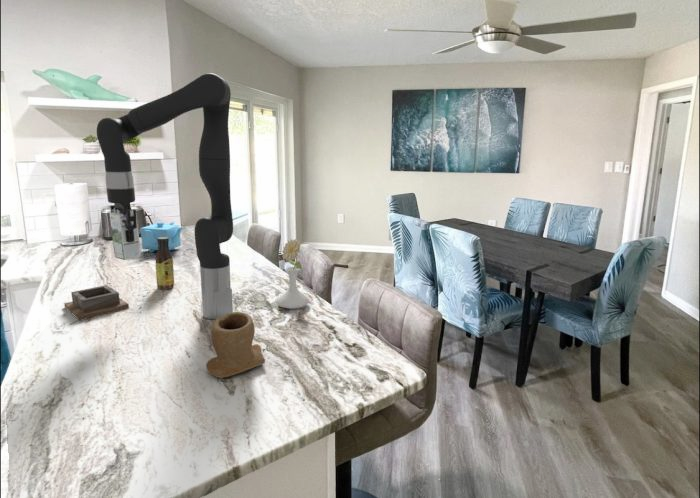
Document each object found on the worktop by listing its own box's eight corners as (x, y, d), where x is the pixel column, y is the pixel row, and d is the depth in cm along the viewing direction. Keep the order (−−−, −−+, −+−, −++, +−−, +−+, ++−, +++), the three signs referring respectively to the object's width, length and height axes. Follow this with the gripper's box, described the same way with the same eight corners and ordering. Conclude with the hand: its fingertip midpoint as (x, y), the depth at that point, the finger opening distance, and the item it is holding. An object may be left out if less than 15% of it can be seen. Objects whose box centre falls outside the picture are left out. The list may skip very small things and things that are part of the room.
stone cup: (219, 388, 102) (216, 330, 99) (201, 367, 111) (198, 313, 108) (276, 369, 111) (275, 315, 108) (255, 351, 120) (254, 301, 117)
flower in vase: (273, 301, 157) (272, 234, 151) (303, 298, 162) (303, 233, 156) (282, 315, 146) (281, 243, 140) (314, 311, 150) (315, 240, 144)
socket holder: (128, 307, 148) (127, 292, 147) (79, 320, 137) (77, 304, 136) (112, 296, 158) (110, 282, 156) (64, 307, 147) (62, 292, 145)
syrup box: (141, 256, 138) (137, 211, 135) (124, 260, 133) (119, 214, 130) (131, 254, 141) (127, 210, 137) (113, 257, 136) (108, 212, 133)
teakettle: (139, 249, 224) (136, 221, 221) (176, 244, 235) (174, 218, 232) (147, 257, 210) (144, 227, 206) (187, 252, 220) (185, 224, 217)
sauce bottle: (168, 291, 165) (164, 240, 160) (153, 289, 166) (149, 239, 161) (178, 285, 171) (174, 236, 166) (164, 284, 172) (160, 235, 168)
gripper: (143, 187, 130) (148, 242, 134) (123, 183, 139) (129, 234, 143) (116, 189, 124) (122, 246, 128) (98, 185, 134) (104, 238, 138)
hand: (125, 239), depth 136 cm, fingers closed on syrup box, 6 cm apart
